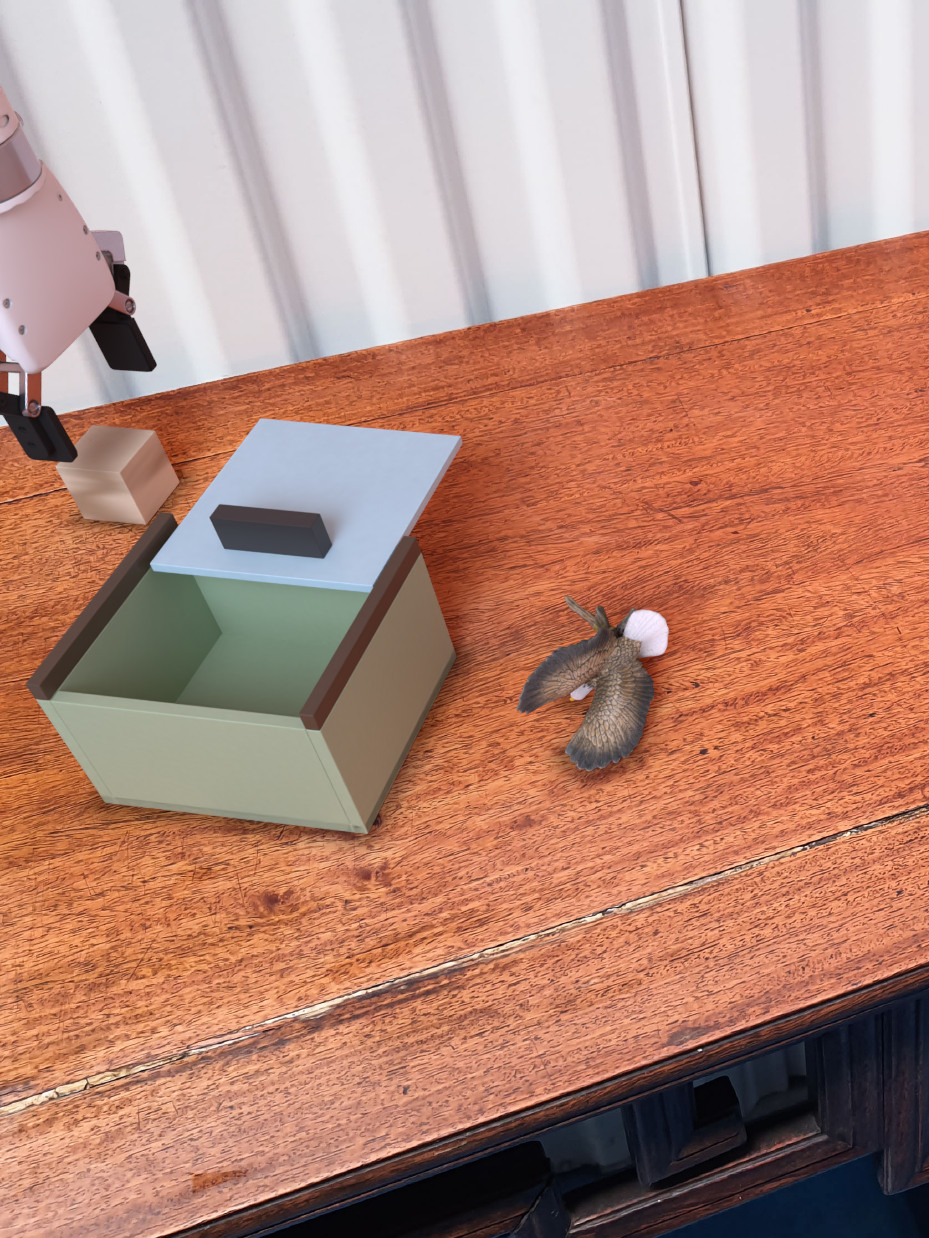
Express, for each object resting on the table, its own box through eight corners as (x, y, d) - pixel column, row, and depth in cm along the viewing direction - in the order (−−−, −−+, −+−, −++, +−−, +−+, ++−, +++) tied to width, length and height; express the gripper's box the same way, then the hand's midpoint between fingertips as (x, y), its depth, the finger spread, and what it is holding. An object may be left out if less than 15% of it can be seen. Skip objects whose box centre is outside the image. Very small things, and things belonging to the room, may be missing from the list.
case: (104, 803, 79) (24, 684, 71) (220, 632, 88) (159, 511, 81) (368, 834, 77) (312, 716, 70) (457, 656, 86) (416, 536, 79)
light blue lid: (153, 571, 79) (132, 531, 77) (263, 425, 88) (247, 386, 86) (375, 593, 78) (360, 554, 76) (463, 443, 87) (451, 404, 85)
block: (83, 519, 96) (54, 466, 92) (119, 476, 99) (92, 424, 96) (146, 525, 95) (119, 472, 92) (180, 482, 98) (155, 430, 95)
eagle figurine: (537, 638, 86) (489, 730, 79) (588, 559, 82) (543, 648, 75) (646, 698, 88) (609, 793, 81) (700, 624, 84) (667, 716, 77)
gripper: (-7, 98, 86) (113, 334, 98) (-200, 244, 74) (-35, 492, 86) (105, 102, 85) (213, 340, 97) (-71, 251, 73) (76, 501, 85)
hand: (96, 411), depth 92 cm, fingers open, 9 cm apart
